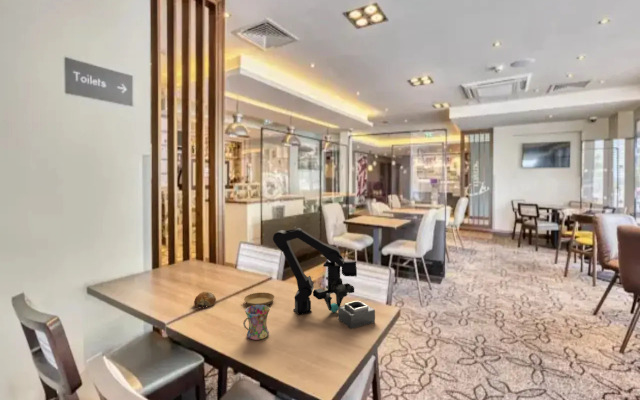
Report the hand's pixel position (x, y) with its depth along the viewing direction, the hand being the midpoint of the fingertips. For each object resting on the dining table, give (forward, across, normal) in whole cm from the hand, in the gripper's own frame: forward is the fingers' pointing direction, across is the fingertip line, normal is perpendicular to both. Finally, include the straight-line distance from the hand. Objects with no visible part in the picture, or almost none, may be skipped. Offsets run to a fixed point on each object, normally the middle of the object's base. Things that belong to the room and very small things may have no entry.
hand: (333, 309), depth 148 cm
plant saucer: (+2, -26, +28) cm, 38 cm away
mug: (+2, -38, -5) cm, 38 cm away
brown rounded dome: (+2, -50, +38) cm, 63 cm away
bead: (+1, 0, 0) cm, 1 cm away
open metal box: (+1, +4, -12) cm, 13 cm away
